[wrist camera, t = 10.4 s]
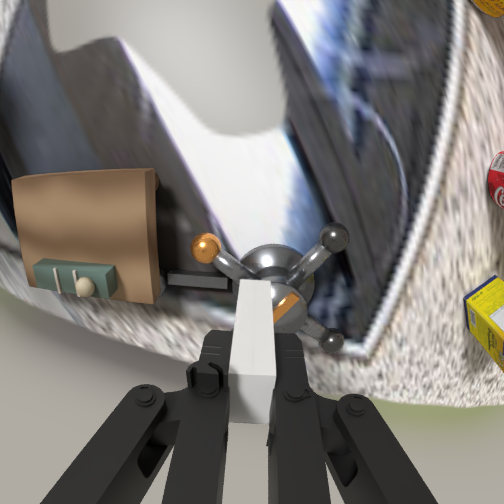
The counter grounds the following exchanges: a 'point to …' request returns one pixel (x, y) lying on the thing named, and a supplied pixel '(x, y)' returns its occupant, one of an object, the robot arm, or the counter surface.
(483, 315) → the supplement box
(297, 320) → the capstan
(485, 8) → the beer can
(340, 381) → the counter surface
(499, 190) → the soda can
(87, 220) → the stand
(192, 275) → the cam foot
